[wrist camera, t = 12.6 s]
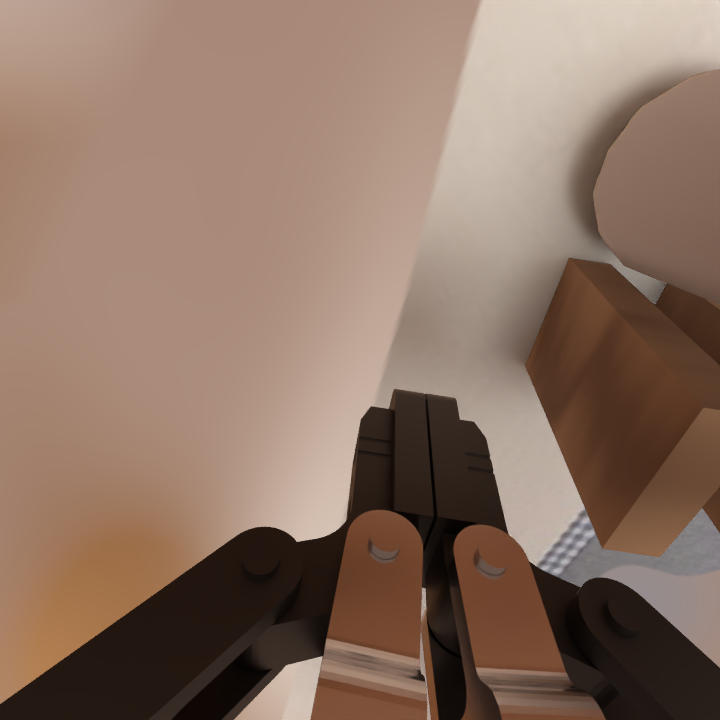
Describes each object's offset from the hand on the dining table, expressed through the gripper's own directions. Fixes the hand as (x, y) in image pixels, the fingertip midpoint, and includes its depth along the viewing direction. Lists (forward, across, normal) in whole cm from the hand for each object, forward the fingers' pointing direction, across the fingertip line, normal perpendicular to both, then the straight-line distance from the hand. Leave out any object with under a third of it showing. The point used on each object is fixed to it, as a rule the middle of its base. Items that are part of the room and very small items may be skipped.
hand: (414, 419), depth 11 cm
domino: (+8, -7, 0) cm, 11 cm away
